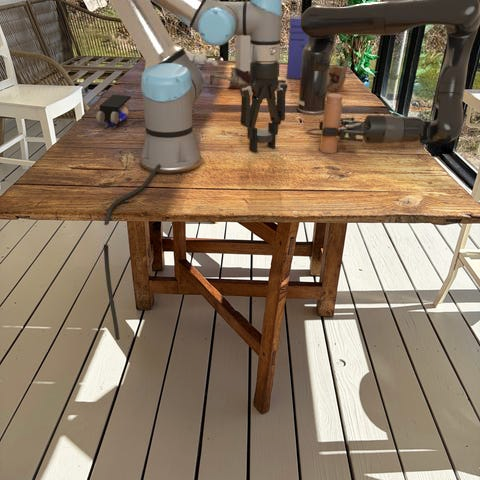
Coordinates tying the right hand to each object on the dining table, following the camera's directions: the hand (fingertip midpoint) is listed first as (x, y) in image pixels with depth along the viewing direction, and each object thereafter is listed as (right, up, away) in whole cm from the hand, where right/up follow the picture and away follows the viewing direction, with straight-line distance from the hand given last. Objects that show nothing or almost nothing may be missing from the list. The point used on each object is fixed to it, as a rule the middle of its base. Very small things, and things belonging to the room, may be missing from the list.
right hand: (321, 128), depth 130 cm
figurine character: (-61, +6, +21) cm, 65 cm away
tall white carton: (-16, +46, +88) cm, 101 cm away
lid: (-16, -1, +1) cm, 16 cm away
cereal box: (+7, +41, +79) cm, 90 cm away
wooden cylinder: (+3, -5, +3) cm, 7 cm away
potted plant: (+16, +31, +64) cm, 73 cm away
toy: (-47, +51, +95) cm, 118 cm away
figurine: (-19, +31, +63) cm, 72 cm away
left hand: (-16, -5, +3) cm, 17 cm away
